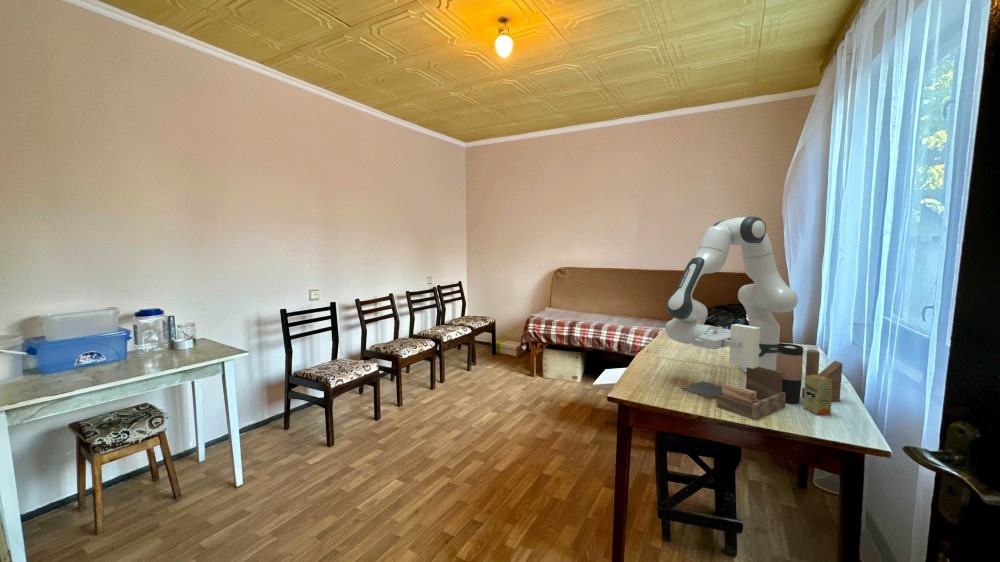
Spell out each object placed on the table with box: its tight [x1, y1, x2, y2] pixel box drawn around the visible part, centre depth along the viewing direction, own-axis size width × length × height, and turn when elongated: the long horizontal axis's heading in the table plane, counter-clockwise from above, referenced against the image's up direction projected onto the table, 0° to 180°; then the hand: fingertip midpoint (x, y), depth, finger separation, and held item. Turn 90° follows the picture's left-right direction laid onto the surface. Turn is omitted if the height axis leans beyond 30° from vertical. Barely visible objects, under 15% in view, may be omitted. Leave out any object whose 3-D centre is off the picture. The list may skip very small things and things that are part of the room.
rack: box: [716, 366, 786, 421], centre depth 135 cm, size 20×12×12 cm, turn 121°
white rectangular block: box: [728, 323, 760, 369], centre depth 138 cm, size 4×8×14 cm, turn 31°
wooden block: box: [801, 349, 843, 402], centre depth 141 cm, size 4×11×18 cm, turn 85°
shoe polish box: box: [803, 375, 833, 416], centre depth 130 cm, size 5×5×12 cm
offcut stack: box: [721, 383, 759, 405], centre depth 132 cm, size 4×10×8 cm, turn 31°
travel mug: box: [776, 343, 804, 405], centre depth 140 cm, size 8×8×20 cm
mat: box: [681, 380, 723, 399], centre depth 151 cm, size 14×12×1 cm
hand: (744, 344), depth 138 cm, fingers closed on white rectangular block, 3 cm apart
